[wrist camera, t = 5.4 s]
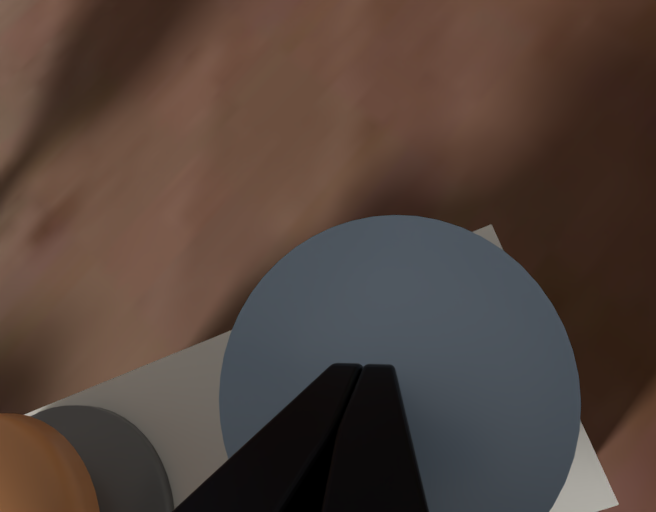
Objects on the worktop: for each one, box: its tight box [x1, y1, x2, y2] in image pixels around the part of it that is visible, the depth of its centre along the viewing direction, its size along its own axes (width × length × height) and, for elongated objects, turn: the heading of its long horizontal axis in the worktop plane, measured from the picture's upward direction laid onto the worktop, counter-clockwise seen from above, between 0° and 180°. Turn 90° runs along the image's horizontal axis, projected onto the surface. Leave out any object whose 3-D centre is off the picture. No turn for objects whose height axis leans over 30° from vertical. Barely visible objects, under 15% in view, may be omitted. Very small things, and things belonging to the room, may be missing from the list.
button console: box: [24, 224, 619, 512], centre depth 17 cm, size 15×6×7 cm, turn 109°
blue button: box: [219, 215, 581, 512], centre depth 10 cm, size 5×5×3 cm
